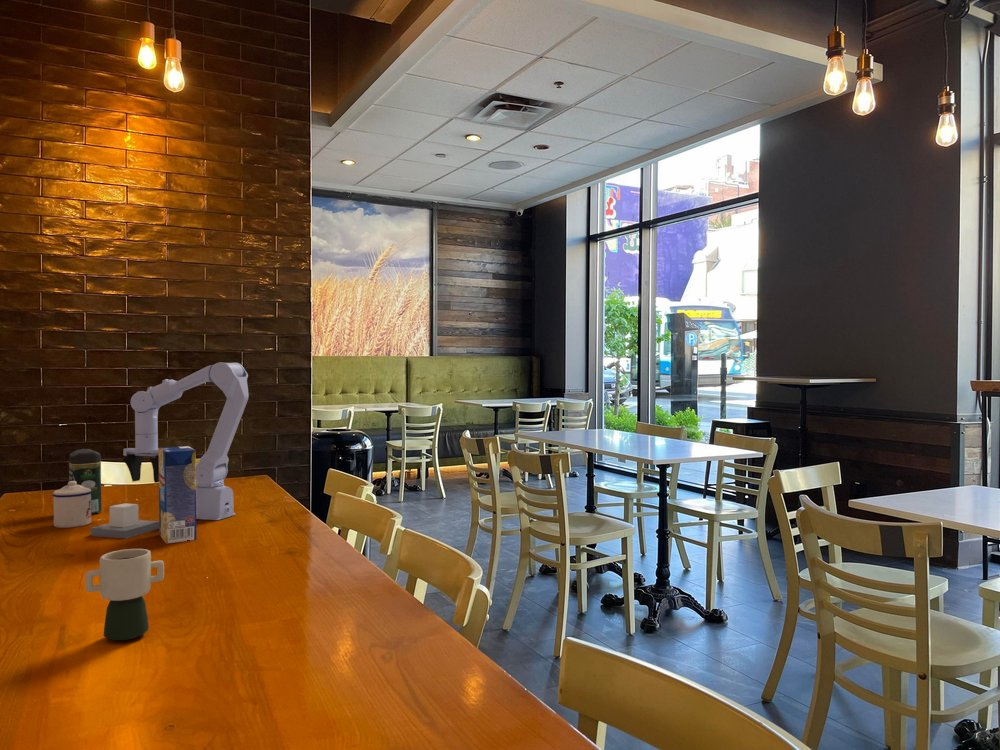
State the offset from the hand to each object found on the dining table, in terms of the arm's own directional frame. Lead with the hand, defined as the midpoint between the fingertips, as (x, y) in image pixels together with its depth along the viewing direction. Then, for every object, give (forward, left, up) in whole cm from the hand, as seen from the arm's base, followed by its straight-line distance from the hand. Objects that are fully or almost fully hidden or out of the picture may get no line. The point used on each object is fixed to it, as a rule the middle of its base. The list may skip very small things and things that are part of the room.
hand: (147, 481), depth 199 cm
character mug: (-65, +74, -10) cm, 99 cm away
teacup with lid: (+13, +13, -10) cm, 21 cm away
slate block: (-9, +17, -10) cm, 22 cm away
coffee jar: (+21, +1, -10) cm, 23 cm away
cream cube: (-9, +17, -8) cm, 21 cm away
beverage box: (-26, +18, -10) cm, 33 cm away
